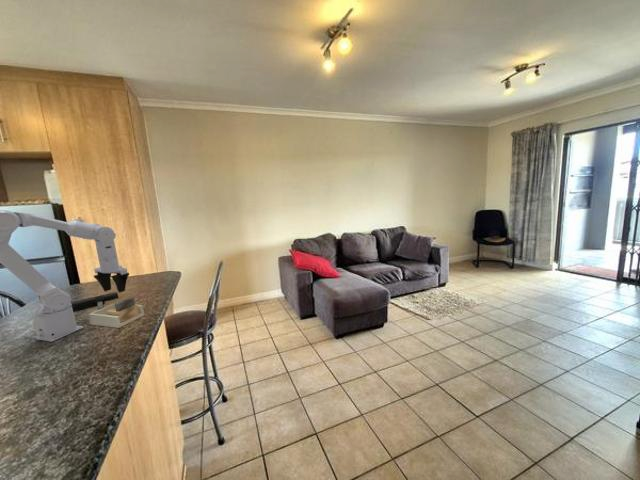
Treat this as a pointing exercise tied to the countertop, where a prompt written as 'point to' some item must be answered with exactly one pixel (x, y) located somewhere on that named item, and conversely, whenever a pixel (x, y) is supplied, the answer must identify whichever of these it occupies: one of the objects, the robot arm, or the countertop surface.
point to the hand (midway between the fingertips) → (114, 291)
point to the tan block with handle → (124, 309)
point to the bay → (111, 317)
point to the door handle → (93, 301)
